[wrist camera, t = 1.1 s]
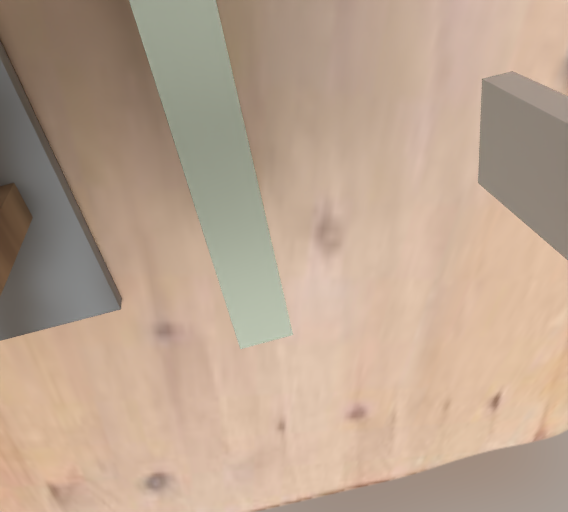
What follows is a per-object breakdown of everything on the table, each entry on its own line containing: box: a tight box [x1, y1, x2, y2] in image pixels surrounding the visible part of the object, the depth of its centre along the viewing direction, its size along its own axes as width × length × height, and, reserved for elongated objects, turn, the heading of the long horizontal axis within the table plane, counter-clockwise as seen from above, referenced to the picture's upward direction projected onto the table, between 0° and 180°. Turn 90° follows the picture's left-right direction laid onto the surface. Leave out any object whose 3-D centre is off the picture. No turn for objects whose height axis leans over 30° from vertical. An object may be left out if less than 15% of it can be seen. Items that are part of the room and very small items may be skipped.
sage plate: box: [129, 0, 293, 349], centre depth 20 cm, size 15×2×12 cm, turn 10°
